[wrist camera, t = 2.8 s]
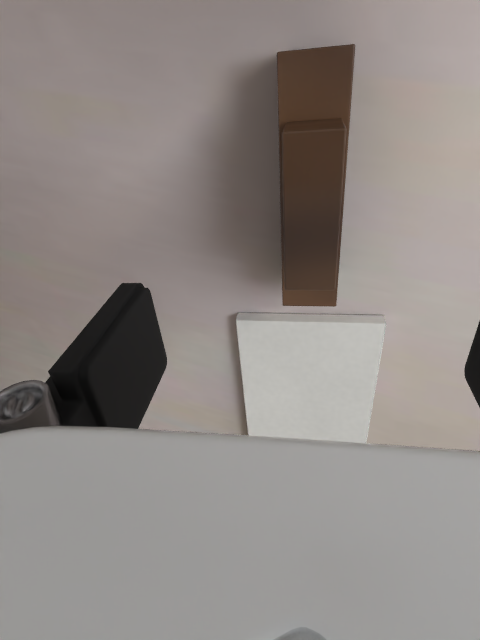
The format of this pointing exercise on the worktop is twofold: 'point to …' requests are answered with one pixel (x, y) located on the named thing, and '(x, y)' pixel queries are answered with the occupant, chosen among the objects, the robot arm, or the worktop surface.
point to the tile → (309, 374)
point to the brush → (313, 168)
